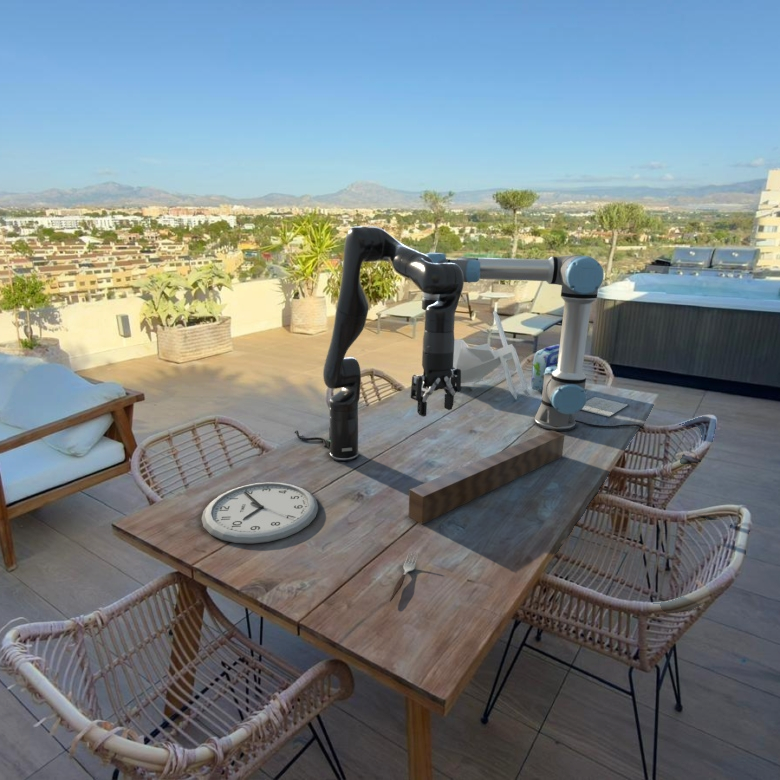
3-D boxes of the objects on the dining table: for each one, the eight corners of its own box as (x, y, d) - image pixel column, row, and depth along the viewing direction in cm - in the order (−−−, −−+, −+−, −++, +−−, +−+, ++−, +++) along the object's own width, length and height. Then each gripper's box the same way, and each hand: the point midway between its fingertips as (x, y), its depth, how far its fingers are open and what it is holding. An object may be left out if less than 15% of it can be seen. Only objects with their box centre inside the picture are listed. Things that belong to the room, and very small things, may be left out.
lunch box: (547, 397, 237) (552, 352, 231) (526, 391, 245) (531, 348, 238) (574, 386, 255) (580, 344, 249) (554, 381, 262) (559, 340, 256)
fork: (383, 601, 106) (384, 593, 106) (408, 557, 120) (408, 550, 120) (396, 605, 105) (396, 596, 105) (419, 560, 120) (419, 552, 119)
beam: (549, 451, 180) (551, 430, 177) (562, 456, 176) (564, 434, 174) (408, 516, 138) (409, 489, 136) (421, 524, 134) (422, 496, 132)
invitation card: (608, 416, 214) (573, 407, 224) (608, 416, 214) (573, 408, 224) (628, 404, 229) (594, 396, 238) (628, 405, 229) (594, 397, 238)
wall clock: (315, 535, 126) (186, 539, 123) (315, 541, 126) (187, 545, 123) (320, 478, 154) (216, 480, 152) (320, 483, 155) (216, 485, 152)
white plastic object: (461, 429, 252) (437, 405, 227) (444, 352, 274) (420, 323, 250) (535, 404, 240) (518, 377, 215) (510, 326, 262) (492, 293, 237)
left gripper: (449, 342, 132) (446, 403, 137) (405, 349, 124) (403, 413, 129) (470, 348, 127) (466, 411, 131) (425, 355, 118) (423, 422, 123)
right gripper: (424, 293, 195) (422, 349, 202) (419, 302, 172) (417, 365, 178) (444, 294, 195) (441, 350, 201) (442, 303, 171) (439, 366, 177)
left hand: (435, 412), depth 130 cm, fingers open, 8 cm apart
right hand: (430, 357), depth 190 cm, fingers open, 13 cm apart
